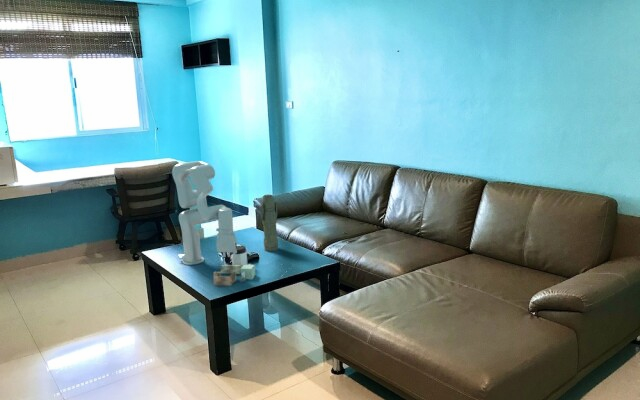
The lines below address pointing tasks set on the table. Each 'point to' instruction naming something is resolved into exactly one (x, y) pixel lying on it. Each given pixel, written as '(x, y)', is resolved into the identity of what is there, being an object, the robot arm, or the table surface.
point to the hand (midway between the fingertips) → (227, 263)
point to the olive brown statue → (269, 222)
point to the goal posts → (244, 275)
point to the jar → (240, 256)
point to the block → (248, 271)
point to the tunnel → (227, 270)
